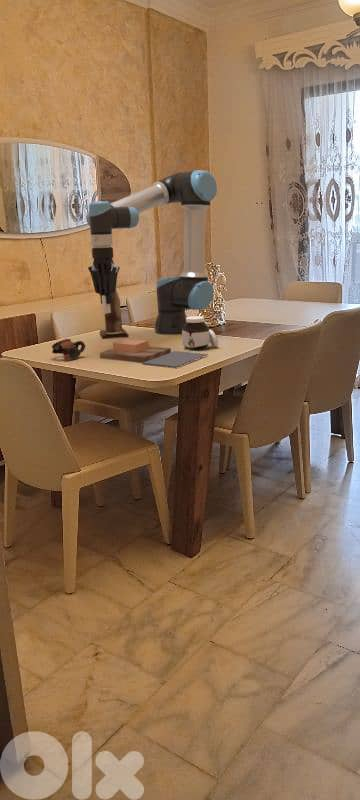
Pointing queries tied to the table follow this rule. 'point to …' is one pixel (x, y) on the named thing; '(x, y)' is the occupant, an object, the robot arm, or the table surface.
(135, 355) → the walnut riser
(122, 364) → the table surface
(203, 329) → the spread jar
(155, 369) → the table surface
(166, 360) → the charcoal mat
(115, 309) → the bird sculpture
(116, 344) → the terracotta tile
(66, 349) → the pottery mug
